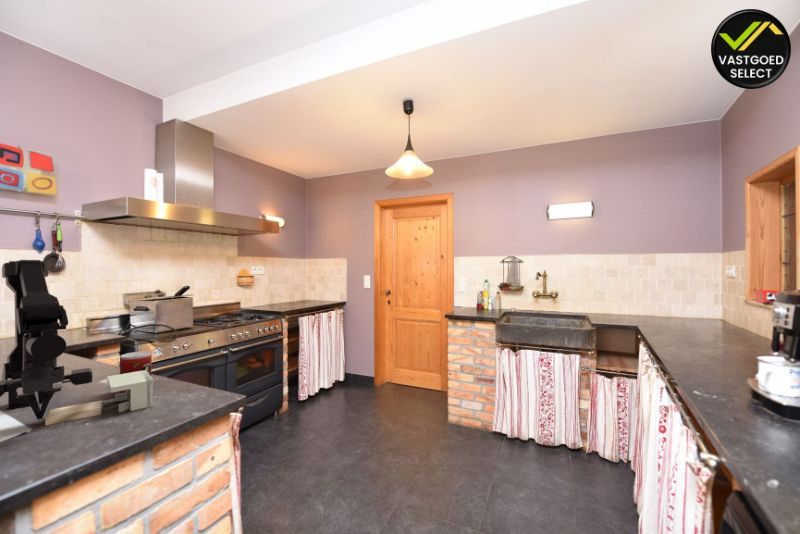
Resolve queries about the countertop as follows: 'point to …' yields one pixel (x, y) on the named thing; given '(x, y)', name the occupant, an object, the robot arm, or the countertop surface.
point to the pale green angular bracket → (132, 389)
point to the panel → (74, 412)
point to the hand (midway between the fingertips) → (40, 418)
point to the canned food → (135, 363)
